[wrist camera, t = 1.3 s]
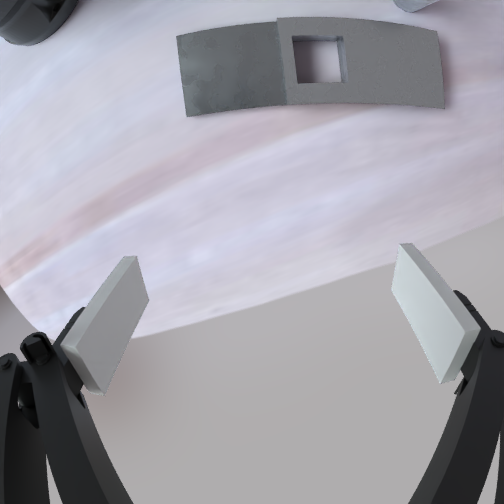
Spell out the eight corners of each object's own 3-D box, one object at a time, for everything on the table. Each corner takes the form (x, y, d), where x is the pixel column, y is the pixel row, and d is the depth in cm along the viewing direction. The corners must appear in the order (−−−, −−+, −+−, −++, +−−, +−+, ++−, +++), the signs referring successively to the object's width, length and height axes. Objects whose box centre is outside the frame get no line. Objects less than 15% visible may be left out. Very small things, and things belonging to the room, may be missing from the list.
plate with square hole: (179, 38, 27) (172, 33, 25) (425, 34, 25) (436, 31, 22) (189, 116, 32) (183, 117, 29) (432, 107, 30) (444, 109, 27)
